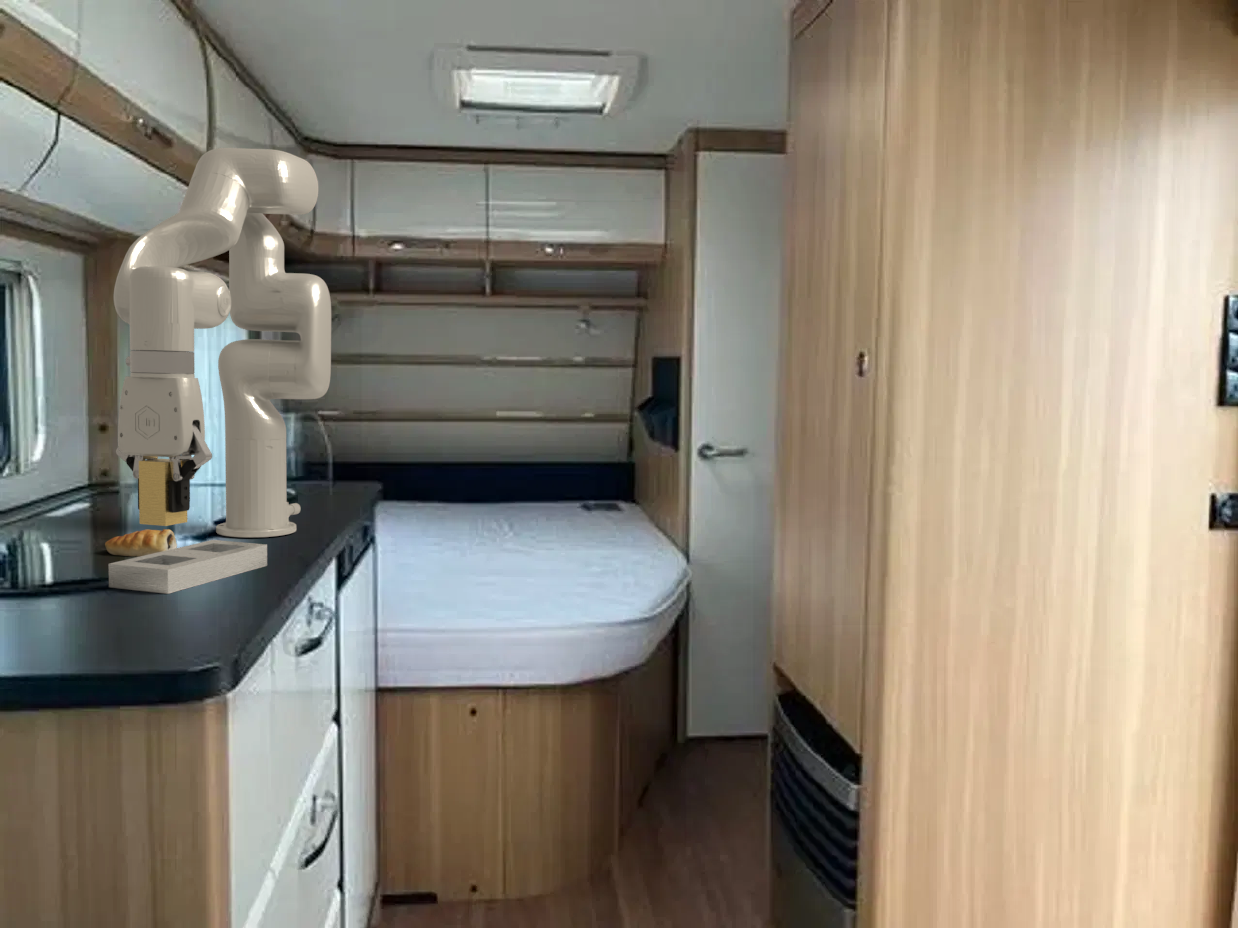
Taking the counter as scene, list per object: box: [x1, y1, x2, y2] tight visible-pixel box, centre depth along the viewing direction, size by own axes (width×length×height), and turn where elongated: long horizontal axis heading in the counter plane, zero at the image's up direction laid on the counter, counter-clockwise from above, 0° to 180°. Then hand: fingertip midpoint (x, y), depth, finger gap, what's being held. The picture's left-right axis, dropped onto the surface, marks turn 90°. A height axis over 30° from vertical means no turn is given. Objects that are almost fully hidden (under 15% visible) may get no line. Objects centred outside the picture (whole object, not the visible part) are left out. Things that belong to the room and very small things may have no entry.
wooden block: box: [138, 458, 188, 527], centre depth 141 cm, size 4×4×8 cm
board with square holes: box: [108, 539, 268, 595], centre depth 147 cm, size 20×9×3 cm, turn 162°
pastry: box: [104, 528, 178, 557], centre depth 162 cm, size 9×7×4 cm
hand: (164, 508), depth 141 cm, fingers closed on wooden block, 4 cm apart
